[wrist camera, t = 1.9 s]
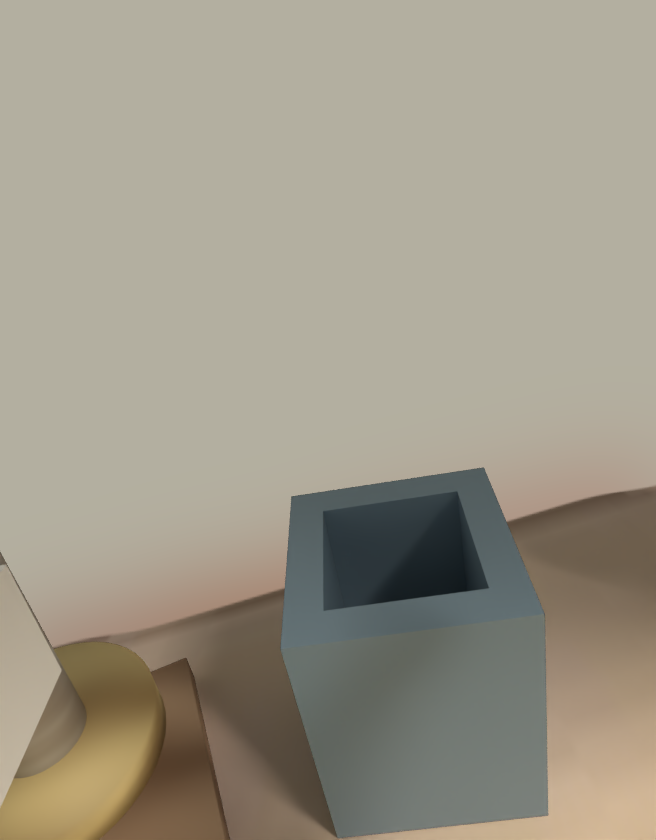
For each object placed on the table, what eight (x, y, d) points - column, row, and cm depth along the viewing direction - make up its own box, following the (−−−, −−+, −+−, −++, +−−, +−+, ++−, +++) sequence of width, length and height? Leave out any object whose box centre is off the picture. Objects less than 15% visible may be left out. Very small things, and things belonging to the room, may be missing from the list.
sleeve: (548, 815, 25) (544, 614, 20) (337, 838, 25) (280, 649, 20) (496, 646, 32) (483, 467, 27) (334, 667, 33) (291, 496, 28)
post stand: (240, 887, 24) (70, 521, 16) (-62, 1038, 22) (-453, 700, 13) (194, 676, 34) (71, 376, 25) (-21, 766, 31) (-238, 465, 23)
